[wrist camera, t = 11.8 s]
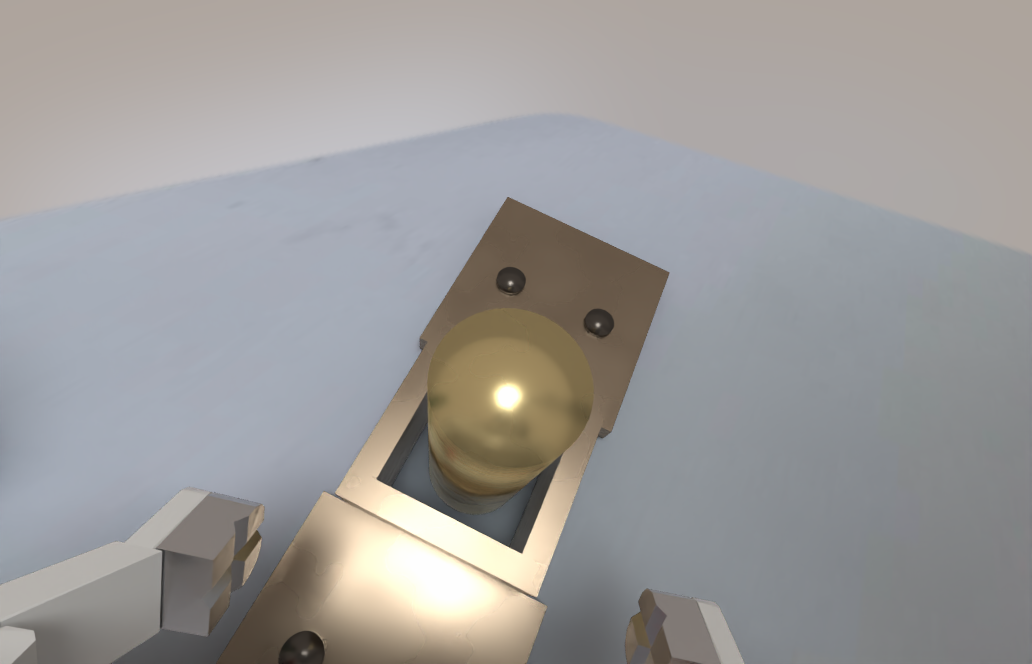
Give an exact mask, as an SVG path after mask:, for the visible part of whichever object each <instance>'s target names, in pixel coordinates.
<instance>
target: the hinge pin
mask: <svg viewBox="0 0 1032 664" xmlns="http://www.w3.org/2000/svg"><path fill="white" fill-rule="evenodd" d="M427 395H428V442H429V473H430V479H431V482H432V485H433V487H434V489H435V491H436V493H437V494H438V496H439V497H440V498H441V499H442V500H443V502H445V503H446V504H447V505H448V506H450V507H451V508H453V509H455V510H457V511H459V512H462V513H466V514H484V513H488V512H492V511H494V510H496V509H498V508H499V507H501V506H503V505H504V504H505V503H506V502H507V501H509V500H510V499H511V498H512V497H513V496H514V495H515V494H517V493H518V492H519V491H520V490H521V489H522V488H523V487H525V486H526V485H527V484H528V483H529V482H530V481H531V480H533V479H534V478H535V477H536V476H537V475H538V474H539V473H541V472H542V471H543V470H544V469H545V468H546V467H547V466H549V465H550V464H551V463H552V462H553V461H554V460H555V459H557V458H558V457H559V456H560V455H561V454H562V453H563V452H565V451H566V450H567V449H568V448H569V447H570V446H571V445H572V444H573V443H574V442H575V441H576V440H577V439H578V437H579V436H580V434H581V433H582V431H583V430H584V428H585V426H586V424H587V422H588V420H589V417H590V414H591V411H592V406H593V400H594V386H593V378H592V374H591V369H590V367H589V364H588V361H587V359H586V357H585V355H584V353H583V351H582V350H581V348H580V347H579V345H578V344H577V342H576V341H575V340H574V339H573V338H572V337H571V335H570V334H569V333H567V332H566V331H565V330H564V329H563V328H562V327H560V326H559V325H558V324H556V323H555V322H553V321H551V320H550V319H548V318H546V317H544V316H542V315H539V314H537V313H534V312H530V311H527V310H522V309H516V308H498V309H491V310H486V311H483V312H480V313H476V314H474V315H472V316H470V317H468V318H466V319H464V320H463V321H461V322H460V323H458V324H457V325H456V326H454V327H453V328H452V329H451V330H450V331H449V332H448V333H447V334H446V335H445V336H444V337H443V339H442V340H441V342H440V343H439V345H438V346H437V348H436V350H435V352H434V354H433V357H432V360H431V362H430V366H429V371H428V381H427Z"/></svg>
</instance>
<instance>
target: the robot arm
mask: <svg viewBox="0 0 1032 664" xmlns="http://www.w3.org/2000/svg"><path fill="white" fill-rule="evenodd" d="M263 520H264V506H263V505H262V504H260V503H256V502H252V501H248V500H244V499H240V498H235V497H231V496H227V495H223V494H219V493H215V492H214V493H212V492H208V491H204V490H200V489H197V488H193V487H187V488H185V489H182V490H181V491H180V492H178V493H177V494H176V495H175V496H174V497H173V498H172V499H171V500H170V501H169V502H168V503H167V504H165V505H164V506H163V507H162V508H161V509H160V510H159V511H158V512H157V513H156V514H155V515H153V516H152V517H151V518H150V519H149V520H148V521H147V522H146V523H145V524H144V525H143V526H142V527H140V528H139V529H138V530H137V531H136V532H135V533H134V534H133V535H132V536H131V537H130V538H129V539H127V540H126V541H125V542H124V543H123V542H118V541H115V542H112V543H110V544H107V545H104V546H102V547H99V548H97V549H94V550H91V551H89V552H86V553H83V554H81V555H78V556H75V557H73V558H70V559H67V560H65V561H62V562H60V563H57V564H54V565H52V566H49V567H46V568H44V569H41V570H38V571H36V572H33V573H31V574H28V575H25V576H23V577H20V578H17V579H15V580H12V581H9V582H7V583H4V584H1V585H0V664H110V663H112V662H113V661H115V660H116V659H118V658H120V657H121V656H123V655H124V654H126V653H127V652H129V651H130V650H132V649H134V648H135V647H137V646H138V645H140V644H141V643H143V642H144V641H146V640H148V639H149V638H151V637H152V636H154V635H155V634H157V633H158V632H160V629H165V630H171V631H177V632H182V633H188V634H194V635H200V636H206V637H208V636H209V635H210V633H211V632H212V630H213V629H214V627H215V626H216V624H217V623H218V621H219V620H220V619H221V617H222V616H223V614H224V613H225V611H226V610H227V608H228V607H229V602H230V593H232V592H233V591H235V590H237V589H239V588H241V587H242V586H243V585H244V583H245V582H246V580H247V579H248V577H249V576H250V574H251V572H252V570H253V568H254V565H255V563H256V561H257V559H258V555H259V551H260V548H261V540H262V537H261V536H260V534H259V533H258V531H257V529H258V527H259V526H260V524H261V523H262V522H263ZM638 602H639V606H640V610H641V612H639V613H638V614H636V615H635V616H633V617H631V620H630V623H629V625H628V628H627V633H626V640H625V653H626V660H627V664H745V663H744V661H743V659H742V656H741V654H740V652H739V650H738V647H737V645H736V643H735V641H734V638H733V636H732V634H731V632H730V629H729V627H728V625H727V623H726V621H725V618H724V616H723V614H722V612H721V609H720V607H719V606H718V605H717V604H716V603H715V602H712V601H707V600H702V599H697V598H690V597H686V596H681V595H676V594H672V593H667V592H662V591H657V590H653V589H648V588H647V589H646V590H645V591H644V592H643V593H642V595H641V597H640V599H639V601H638Z"/></svg>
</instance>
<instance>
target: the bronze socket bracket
mask: <svg viewBox="0 0 1032 664" xmlns="http://www.w3.org/2000/svg"><path fill="white" fill-rule="evenodd" d="M668 276H669V272H667V271H665V270H663V269H661V268H659V267H657V266H654V265H652V264H650V263H648V262H646V261H644V260H642V259H640V258H637V257H635V256H633V255H631V254H629V253H627V252H625V251H622V250H620V249H618V248H616V247H614V246H612V245H610V244H608V243H605V242H603V241H601V240H599V239H597V238H595V237H593V236H590V235H588V234H586V233H584V232H582V231H580V230H578V229H575V228H573V227H571V226H569V225H567V224H565V223H563V222H561V221H558V220H556V219H554V218H552V217H550V216H548V215H546V214H543V213H541V212H539V211H537V210H535V209H533V208H531V207H529V206H526V205H524V204H522V203H520V202H518V201H516V200H514V199H511V198H509V197H507V199H506V201H505V202H504V204H503V205H502V207H501V209H500V210H499V212H498V213H497V215H496V217H495V218H494V220H493V221H492V223H491V225H490V226H489V228H488V229H487V231H486V232H485V234H484V236H483V237H482V239H481V240H480V242H479V244H478V245H477V247H476V248H475V250H474V252H473V253H472V255H471V256H470V258H469V260H468V261H467V263H466V264H465V266H464V268H463V269H462V271H461V272H460V274H459V276H458V277H457V279H456V280H455V282H454V284H453V285H452V287H451V288H450V290H449V292H448V293H447V295H446V296H445V298H444V300H443V301H442V303H441V304H440V306H439V308H438V309H437V311H436V312H435V314H434V316H433V317H432V319H431V320H430V322H429V324H428V325H427V327H426V328H425V330H424V332H423V333H422V335H421V336H420V348H421V349H423V350H422V352H421V353H420V355H419V357H418V358H417V360H416V362H415V363H414V365H413V367H412V368H411V370H410V371H409V373H408V375H407V376H406V378H405V380H404V381H403V383H402V384H401V386H400V388H399V389H398V391H397V393H396V394H395V396H394V398H393V399H392V401H391V402H390V404H389V406H388V407H387V409H386V411H385V412H384V414H383V415H382V417H381V419H380V420H379V422H378V424H377V425H376V427H375V428H374V430H373V432H372V433H371V435H370V437H369V438H368V440H367V442H366V443H365V445H364V446H363V448H362V450H361V451H360V453H359V455H358V456H357V458H356V459H355V461H354V463H353V464H352V466H351V468H350V469H349V471H348V473H347V474H346V476H345V477H344V479H343V481H342V482H341V484H340V486H339V487H338V489H337V490H336V492H335V494H336V495H338V496H339V497H340V498H342V499H343V500H344V501H345V502H344V501H342V500H340V499H338V498H336V497H334V496H332V495H330V494H328V493H327V492H325V491H324V492H323V493H322V495H321V496H320V498H319V500H318V501H317V503H316V504H315V506H314V507H313V509H312V511H311V512H310V514H309V515H308V517H307V519H306V520H305V522H304V523H303V525H302V527H301V528H300V530H299V531H298V533H297V535H296V536H295V538H294V539H293V541H292V543H291V544H290V546H289V547H288V549H287V551H286V552H285V554H284V555H283V557H282V559H281V560H280V562H279V563H278V565H277V567H276V568H275V570H274V571H273V573H272V575H271V576H270V578H269V579H268V581H267V583H266V584H265V586H264V587H263V589H262V591H261V592H260V594H259V595H258V597H257V599H256V600H255V602H254V603H253V605H252V607H251V608H250V610H249V611H248V613H247V615H246V616H245V618H244V619H243V621H242V623H241V624H240V626H239V627H238V629H237V631H236V632H235V634H234V635H233V637H232V639H231V640H230V642H229V643H228V645H227V647H226V648H225V650H224V651H223V653H222V655H221V656H220V658H219V659H218V661H217V663H216V664H526V663H527V661H528V658H529V655H530V652H531V650H532V647H533V644H534V641H535V639H536V636H537V633H538V631H539V628H540V625H541V622H542V620H543V617H544V614H545V611H546V609H547V606H546V605H544V604H542V603H540V602H538V601H536V600H534V599H532V598H530V597H528V596H526V595H524V594H527V595H530V596H534V597H537V595H538V593H539V590H540V587H541V585H542V582H543V580H544V577H545V574H546V572H547V569H548V566H549V564H550V561H551V558H552V556H553V553H554V550H555V548H556V545H557V543H558V540H559V537H560V535H561V532H562V529H563V527H564V524H565V521H566V519H567V516H568V513H569V511H570V508H571V506H572V503H573V500H574V498H575V495H576V492H577V490H578V487H579V484H580V482H581V479H582V476H583V474H584V471H585V469H586V466H587V463H588V461H589V458H590V455H591V453H592V450H593V447H594V445H595V442H596V439H597V437H598V436H599V437H601V438H604V437H605V436H606V435H608V434H609V433H610V432H611V431H612V429H613V426H614V423H615V420H616V418H617V415H618V412H619V409H620V407H621V404H622V401H623V398H624V396H625V393H626V390H627V388H628V385H629V382H630V379H631V377H632V374H633V371H634V368H635V366H636V363H637V360H638V358H639V355H640V352H641V349H642V347H643V344H644V341H645V338H646V336H647V333H648V330H649V327H650V325H651V322H652V319H653V317H654V314H655V311H656V308H657V306H658V303H659V300H660V297H661V295H662V292H663V289H664V287H665V284H666V281H667V278H668ZM498 308H516V309H522V310H527V311H530V312H534V313H537V314H539V315H542V316H544V317H546V318H548V319H550V320H551V321H553V322H555V323H556V324H558V325H559V326H560V327H562V328H563V329H564V330H565V331H566V332H567V333H569V334H570V335H571V337H572V338H573V339H574V340H575V341H576V342H577V344H578V345H579V347H580V348H581V350H582V351H583V353H584V355H585V357H586V359H587V361H588V364H589V367H590V369H591V374H592V378H593V386H594V400H593V406H592V411H591V414H590V417H589V420H588V422H587V424H586V426H585V428H584V430H583V431H582V433H581V434H580V436H579V437H578V439H577V440H576V441H575V442H574V443H573V444H572V445H571V446H570V447H569V448H568V449H567V450H566V451H565V452H563V453H562V454H561V455H560V456H559V457H558V458H557V459H555V460H554V461H553V462H552V463H551V464H550V465H549V466H547V467H546V468H545V469H544V470H543V471H542V472H541V473H540V475H539V478H538V480H537V483H536V485H535V487H534V490H533V492H532V494H531V497H530V499H529V501H528V504H527V506H526V509H525V511H524V513H523V516H522V518H521V520H520V523H519V525H518V528H517V530H516V532H515V535H514V537H513V539H512V542H511V544H510V547H507V546H505V545H503V544H501V543H499V542H497V541H495V540H493V539H491V538H489V537H488V536H486V535H484V534H482V533H480V532H478V531H476V530H474V529H472V528H470V527H468V526H466V525H464V524H462V523H460V522H458V521H456V520H454V519H452V518H450V517H448V516H446V515H444V514H443V513H441V512H439V511H437V510H435V509H433V508H431V507H429V506H427V505H425V504H423V503H421V502H419V501H417V500H415V499H413V498H411V497H409V496H407V495H405V494H403V493H401V492H399V491H398V490H396V489H394V488H392V487H391V486H392V484H393V482H394V481H395V479H396V477H397V475H398V473H399V472H400V470H401V468H402V466H403V465H404V463H405V461H406V459H407V457H408V456H409V454H410V452H411V450H412V449H413V447H414V445H415V443H416V441H417V440H418V438H419V436H420V434H421V433H422V431H423V429H424V427H425V425H426V424H427V422H428V395H427V381H428V371H429V366H430V362H431V360H432V357H433V354H434V352H435V350H436V348H437V346H438V345H439V343H440V342H441V340H442V339H443V337H444V336H445V335H446V334H447V333H448V332H449V331H450V330H451V329H452V328H453V327H454V326H456V325H457V324H458V323H460V322H461V321H463V320H464V319H466V318H468V317H470V316H472V315H474V314H476V313H480V312H483V311H486V310H491V309H498ZM346 502H347V503H346ZM522 593H523V594H522Z"/></svg>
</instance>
